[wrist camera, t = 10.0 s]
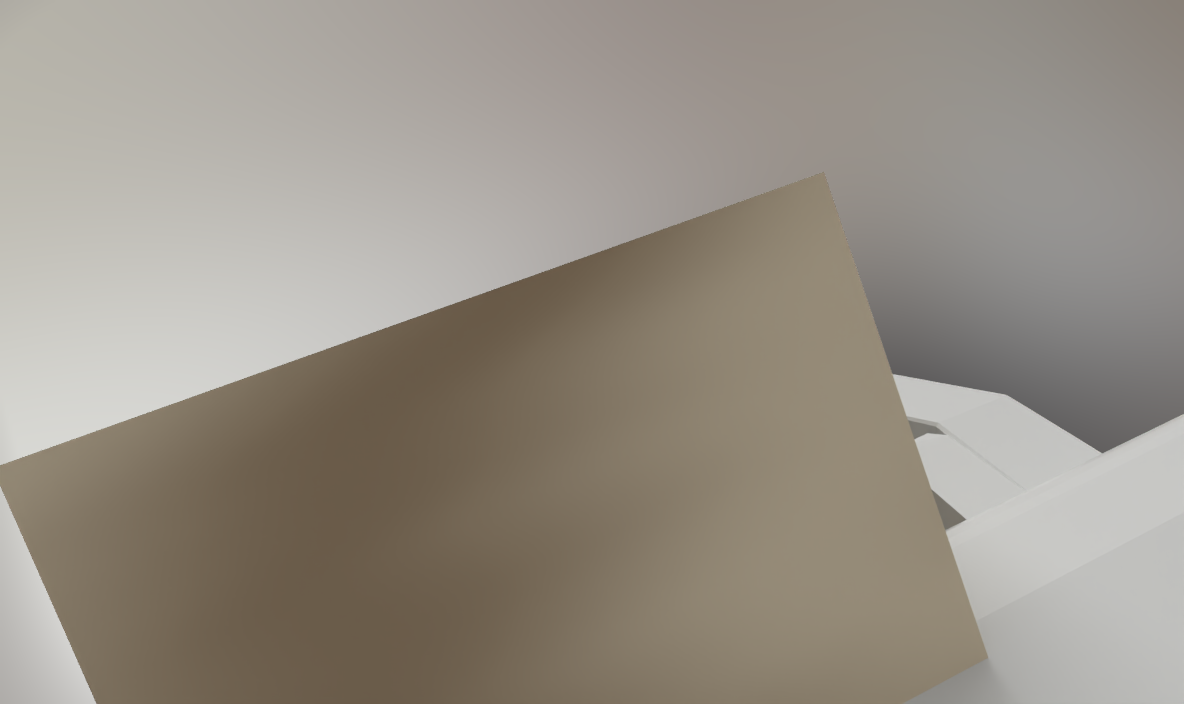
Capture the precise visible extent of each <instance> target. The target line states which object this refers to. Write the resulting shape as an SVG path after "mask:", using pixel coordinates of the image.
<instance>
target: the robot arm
mask: <svg viewBox="0 0 1184 704" xmlns="http://www.w3.org/2000/svg"><path fill="white" fill-rule="evenodd" d="M892 375H893V378H894V380H895V383H896V386H897V389H898V392H899V395H900V398H901V401H902V404H903V407H904V410H905V413H906V416H907V419H908V422H909V425H910V428H911V431H912V434H913V437H914V440H915V442H916V445H917V448H918V451H919V454H920V457H921V460H922V463H923V466H924V469H925V472H926V475H927V478H928V481H929V484H930V487H931V490H932V493H933V496H934V499H935V502H936V504H937V507H938V510H939V513H940V516H941V519H942V522H943V525H944V528H945V531H946V534H947V537H948V540H949V543H950V546H951V549H952V552H953V555H954V558H955V561H956V564H957V566H958V569H959V572H960V575H961V578H962V581H963V584H964V587H965V590H966V593H967V596H968V599H969V602H970V605H971V608H972V611H973V614H974V617H975V620H976V623H977V625H978V628H979V631H980V634H981V637H982V640H983V643H984V646H985V649H986V652H987V655H988V658H987V659H985V660H983V661H981V662H979V663H978V664H976V665H974V666H972V667H970V668H968V669H966V670H964V671H963V672H961V673H959V674H957V675H955V676H953V677H951V678H950V679H948V680H946V681H944V682H942V683H940V684H938V685H936V686H935V687H933V688H931V689H929V690H927V691H925V692H923V693H921V694H920V695H918V696H916V697H914V698H912V699H910V700H908V701H907V702H905V703H903V704H1184V414H1183V415H1181V416H1179V417H1177V418H1175V419H1173V420H1171V421H1169V422H1166V423H1164V424H1162V425H1160V426H1158V427H1156V428H1154V429H1152V430H1150V431H1148V432H1146V433H1144V434H1142V435H1140V436H1138V437H1136V438H1134V439H1132V440H1129V441H1127V442H1126V443H1123V444H1121V445H1119V446H1117V447H1115V448H1113V449H1111V450H1109V451H1107V452H1105V453H1103V454H1102V453H1100V452H1099V451H1097V450H1096V449H1093V448H1092V447H1091V446H1089V445H1087V444H1086V443H1084V442H1082V441H1081V440H1079V439H1078V438H1076V437H1074V436H1073V435H1071V434H1069V433H1068V432H1066V431H1064V430H1063V429H1061V428H1060V427H1058V426H1056V425H1055V424H1053V423H1051V422H1050V421H1048V420H1046V419H1045V418H1043V417H1042V416H1040V415H1038V414H1037V413H1035V412H1033V411H1032V410H1030V409H1029V408H1027V407H1025V406H1024V405H1022V404H1020V403H1019V402H1017V401H1015V400H1014V399H1012V398H1010V397H1009V396H1007V395H1003V394H998V393H992V392H987V391H981V390H976V389H970V388H965V387H960V386H954V385H949V384H943V383H937V382H932V381H927V380H921V379H916V378H911V377H905V376H900V375H894V374H892Z"/></svg>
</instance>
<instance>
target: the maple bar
mask: <svg viewBox="0 0 1184 704" xmlns="http://www.w3.org/2000/svg"><path fill="white" fill-rule="evenodd" d="M0 486H1V488H2V491H3V493H4V495H5V498H6V500H7V502H8V504H9V507H10V509H11V511H12V513H13V516H14V518H15V520H16V522H17V525H18V527H19V529H20V532H21V534H22V536H23V538H24V541H25V543H26V545H27V547H28V549H29V552H30V554H31V556H32V559H33V561H34V563H35V565H36V567H37V570H38V572H39V575H40V577H41V579H42V581H43V584H44V586H45V588H46V590H47V592H48V595H49V597H50V599H51V602H52V604H53V606H54V608H55V611H56V613H57V615H58V617H59V620H60V622H61V624H62V626H63V629H64V631H65V633H66V636H67V638H68V640H69V642H70V644H71V647H72V649H73V651H74V653H75V656H76V658H77V660H78V663H79V665H80V667H81V669H82V672H83V674H84V676H85V678H86V681H87V683H88V685H89V688H90V690H91V692H92V694H93V696H94V699H95V701H96V703H97V704H903V703H905V702H907V701H908V700H910V699H912V698H914V697H916V696H918V695H920V694H921V693H923V692H925V691H927V690H929V689H931V688H933V687H935V686H936V685H938V684H940V683H942V682H944V681H946V680H948V679H950V678H951V677H953V676H955V675H957V674H959V673H961V672H963V671H964V670H966V669H968V668H970V667H972V666H974V665H976V664H978V663H979V662H981V661H983V660H985V659H987V658H988V655H987V652H986V649H985V646H984V643H983V640H982V637H981V634H980V631H979V628H978V625H977V623H976V620H975V617H974V614H973V611H972V608H971V605H970V602H969V599H968V596H967V593H966V590H965V587H964V584H963V581H962V578H961V575H960V572H959V569H958V566H957V564H956V561H955V558H954V555H953V552H952V549H951V546H950V543H949V540H948V537H947V534H946V531H945V528H944V525H943V522H942V519H941V516H940V513H939V510H938V507H937V504H936V502H935V499H934V496H933V493H932V490H931V487H930V484H929V481H928V478H927V475H926V472H925V469H924V466H923V463H922V460H921V457H920V454H919V451H918V448H917V445H916V442H915V440H914V437H913V434H912V431H911V428H910V425H909V422H908V419H907V416H906V413H905V410H904V407H903V404H902V401H901V398H900V395H899V392H898V389H897V386H896V383H895V380H894V378H893V375H892V372H891V369H890V366H889V363H888V360H887V357H886V354H885V351H884V348H883V345H882V342H881V339H880V337H879V333H878V330H877V328H876V325H875V321H874V318H873V316H872V313H871V310H870V307H869V304H868V301H867V298H866V295H865V292H864V289H863V286H862V283H861V280H860V277H859V274H858V271H857V268H856V265H855V262H854V260H853V256H852V254H851V251H850V248H849V245H848V242H847V239H846V236H845V233H844V230H843V227H842V224H841V221H840V219H839V215H838V212H837V210H836V206H835V203H834V200H833V197H832V195H831V192H830V189H829V186H828V183H827V180H826V177H825V174H824V172H823V173H820V174H817V175H814V176H811V177H809V178H806V179H803V180H800V181H798V182H795V183H792V184H789V185H786V186H784V187H781V188H778V189H775V190H772V191H769V192H767V193H764V194H761V195H758V196H755V197H753V198H750V199H747V200H744V201H741V202H738V203H736V204H733V205H730V206H727V207H724V208H722V209H719V210H716V211H713V212H711V213H708V214H705V215H702V216H699V217H696V218H694V219H691V220H688V221H685V222H682V223H680V224H677V225H674V226H671V227H668V228H666V229H663V230H660V231H657V232H654V233H651V234H649V235H646V236H643V237H640V238H637V239H635V240H632V241H629V242H626V243H623V244H621V245H618V246H615V247H612V248H609V249H607V250H604V251H601V252H598V253H595V254H593V255H590V256H587V257H584V258H581V259H578V260H576V261H573V262H570V263H567V264H564V265H562V266H559V267H556V268H553V269H550V270H548V271H545V272H542V273H539V274H536V275H534V276H531V277H528V278H525V279H522V280H519V281H517V282H514V283H511V284H509V285H505V286H503V287H500V288H497V289H494V290H491V291H489V292H486V293H483V294H480V295H478V296H475V297H472V298H469V299H466V300H463V301H461V302H458V303H455V304H452V305H449V306H446V307H444V308H441V309H438V310H435V311H433V312H430V313H427V314H424V315H421V316H419V317H416V318H413V319H410V320H407V321H405V322H402V323H399V324H396V325H393V326H390V327H388V328H385V329H382V330H379V331H376V332H373V333H371V334H368V335H365V336H362V337H359V338H357V339H354V340H351V341H348V342H345V343H343V344H340V345H337V346H334V347H331V348H329V349H326V350H323V351H320V352H317V353H315V354H312V355H309V356H306V357H303V358H300V359H298V360H295V361H292V362H289V363H287V364H284V365H281V366H278V367H275V368H272V369H270V370H267V371H264V372H261V373H258V374H256V375H253V376H250V377H247V378H244V379H242V380H239V381H236V382H233V383H230V384H227V385H225V386H222V387H219V388H216V389H214V390H211V391H208V392H205V393H202V394H199V395H197V396H194V397H191V398H189V399H185V400H183V401H180V402H177V403H174V404H171V405H169V406H166V407H163V408H160V409H157V410H154V411H152V412H149V413H146V414H143V415H140V416H138V417H135V418H132V419H129V420H127V421H124V422H121V423H118V424H115V425H112V426H110V427H107V428H104V429H101V430H98V431H96V432H93V433H90V434H87V435H85V436H82V437H79V438H76V439H73V440H70V441H67V442H65V443H62V444H59V445H56V446H53V447H51V448H48V449H45V450H42V451H39V452H37V453H34V454H31V455H28V456H25V457H22V458H20V459H17V460H14V461H12V462H8V463H6V464H3V465H0Z"/></svg>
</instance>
